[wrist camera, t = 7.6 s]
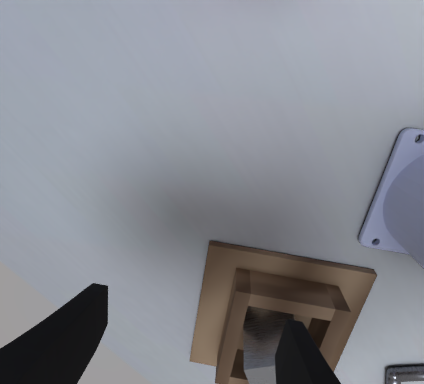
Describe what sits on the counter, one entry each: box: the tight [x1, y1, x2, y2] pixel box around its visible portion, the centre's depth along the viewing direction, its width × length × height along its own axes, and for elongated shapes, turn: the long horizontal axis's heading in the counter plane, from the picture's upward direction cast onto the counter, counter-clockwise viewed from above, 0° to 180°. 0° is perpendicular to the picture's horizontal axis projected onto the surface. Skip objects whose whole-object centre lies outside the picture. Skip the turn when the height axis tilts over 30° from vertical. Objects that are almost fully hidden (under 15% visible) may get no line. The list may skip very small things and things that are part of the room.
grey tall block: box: [243, 306, 296, 384], centre depth 20 cm, size 4×5×6 cm
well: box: [190, 241, 377, 384], centre depth 21 cm, size 12×12×3 cm
